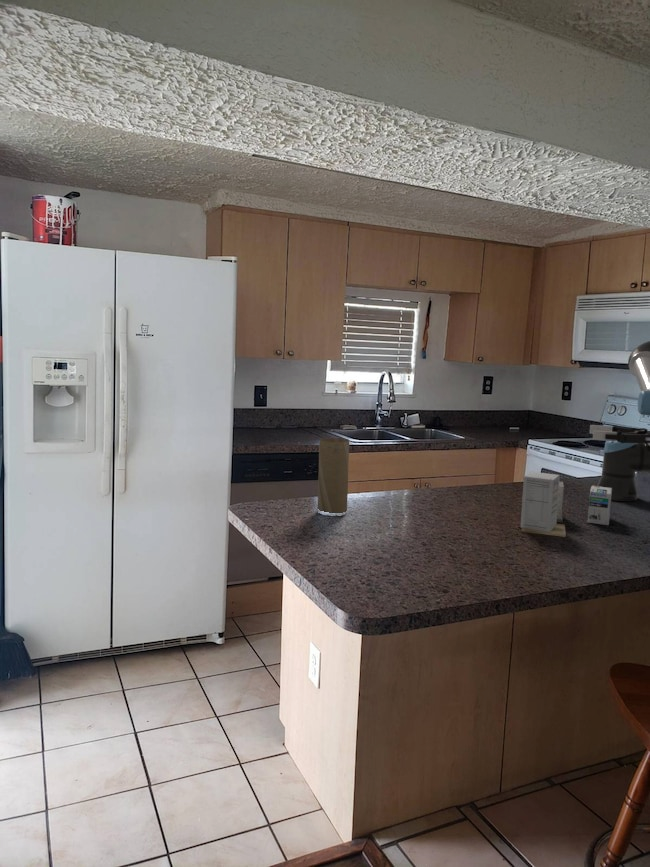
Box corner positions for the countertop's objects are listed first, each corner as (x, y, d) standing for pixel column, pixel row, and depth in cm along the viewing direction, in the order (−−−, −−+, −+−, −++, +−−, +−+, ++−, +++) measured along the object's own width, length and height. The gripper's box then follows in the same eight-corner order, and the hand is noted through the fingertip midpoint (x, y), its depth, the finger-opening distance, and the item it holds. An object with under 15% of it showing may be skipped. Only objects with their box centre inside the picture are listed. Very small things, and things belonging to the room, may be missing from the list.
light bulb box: (608, 526, 215) (611, 494, 213) (586, 523, 217) (589, 491, 216) (609, 518, 224) (612, 487, 222) (588, 515, 227) (591, 484, 225)
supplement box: (557, 525, 211) (561, 474, 208) (550, 532, 203) (554, 479, 200) (527, 520, 216) (531, 470, 213) (519, 527, 208) (523, 475, 205)
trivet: (522, 521, 216) (522, 520, 216) (564, 526, 212) (564, 524, 212) (521, 531, 205) (521, 530, 205) (565, 536, 201) (565, 535, 201)
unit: (537, 512, 228) (539, 479, 226) (561, 515, 225) (564, 481, 223) (537, 519, 219) (539, 484, 217) (562, 522, 217) (565, 487, 215)
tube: (341, 507, 227) (343, 437, 223) (351, 515, 218) (353, 441, 214) (313, 509, 224) (315, 437, 220) (322, 517, 215) (324, 442, 211)
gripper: (674, 456, 185) (593, 450, 191) (659, 443, 208) (587, 438, 214) (677, 430, 183) (595, 425, 190) (661, 419, 207) (589, 415, 213)
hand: (591, 432), depth 202 cm, fingers open, 13 cm apart
